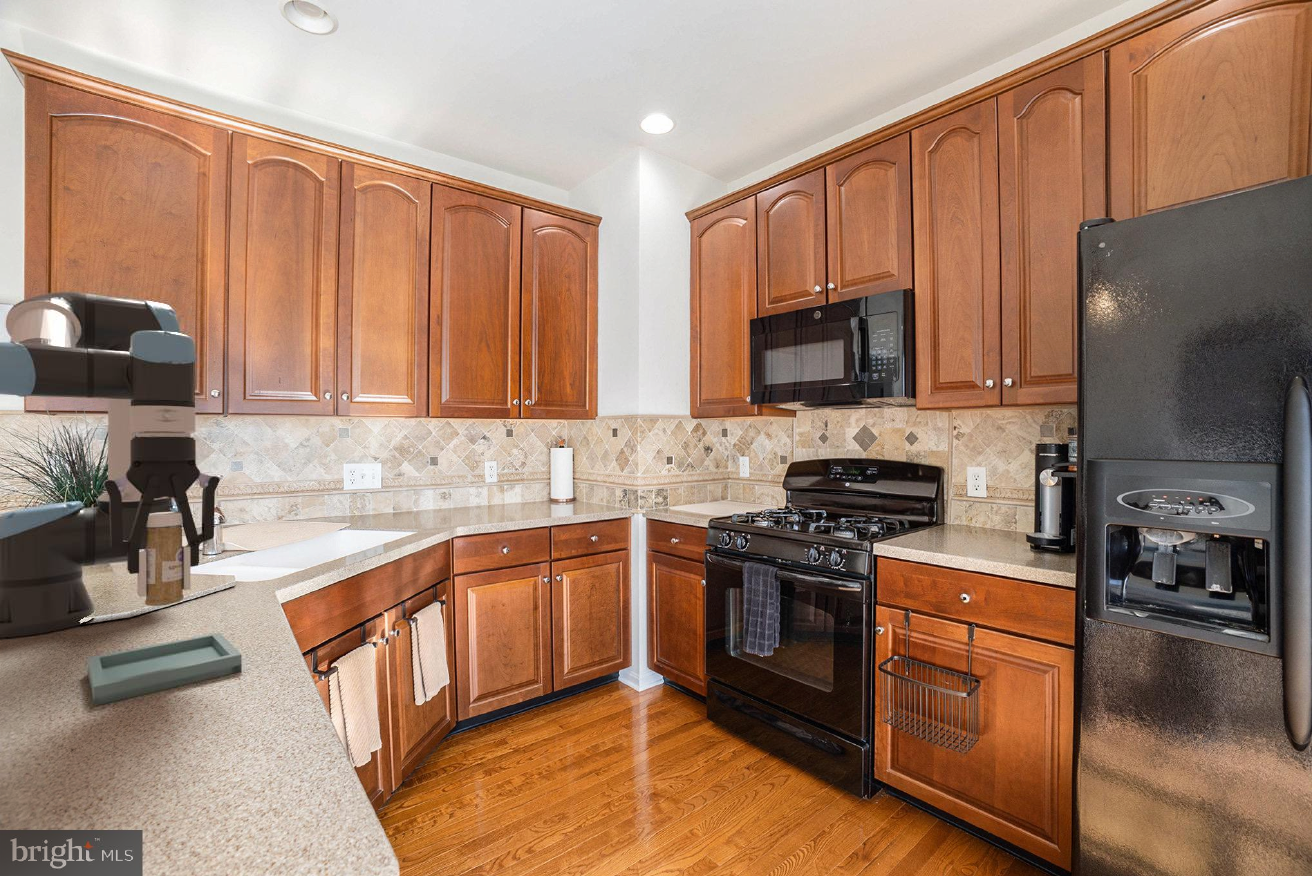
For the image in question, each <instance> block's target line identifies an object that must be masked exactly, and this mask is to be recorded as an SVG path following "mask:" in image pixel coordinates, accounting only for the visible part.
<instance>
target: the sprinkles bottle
mask: <svg viewBox="0 0 1312 876" xmlns="http://www.w3.org/2000/svg"><path fill="white" fill-rule="evenodd" d="M182 524H183V519H182V514H181V513H180V512H159V513H151V514H149V516H148V521H147V524H146V528H145V530H146V547H145V551H146V596H145V601H144V604H145V605H146V606H150V607H158V606H167V605H171V604H175V603H179V602H181V601H182V600H184V594H183V591H184V590H183V589H182V588H183V587H182V585H183V584H182V578H183V549H182V545H183V525H182Z"/></svg>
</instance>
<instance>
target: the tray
mask: <svg viewBox="0 0 1312 876" xmlns="http://www.w3.org/2000/svg"><path fill="white" fill-rule="evenodd" d="M242 656H243V655H242V653H241V652H240V651H239V650H238V649H237V648H236V647H235V646H234V645H233V644H232V643H231V642H229V640H228V639H227V638H226V637H225V636H224V634H223V635H222V633H221V632H214V633H209V634H203V635H199V636H194V637H189V638H183V639H177V640H173V641H169V642H164V643H163V642H162V643H158V644H154V645H148V646H142V647H137V648H132V649H127V650H122V651H118V652H110V653H107V654H102V655H97V656H96V655H95V656H92V657H87V678H88V683H89V688H90V694H91V700H92V703H93V704H92V705H93V707H98V706H102V705H106V704H111V703H113V702H119V701H123V700H126V699H130V698H135V697H139V696H142V695H149V694H152V693H156V692H160V691H165V690H169V689H172V688H174V689H175V688H177V687H182V686H185V685H189V684H194V683H199V682H202V681H207V680H210V679H211V680H212V679H216V678H219V677H223V676H227V675H232V674H237V673H240V672H242V670H243V669H242V667H243V666H242V663H243V662H242V659H243V657H242Z"/></svg>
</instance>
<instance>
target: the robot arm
mask: <svg viewBox="0 0 1312 876" xmlns="http://www.w3.org/2000/svg"><path fill="white" fill-rule="evenodd" d="M179 324H180V323H179V320H178V316H177V314H176V312H175V310H174V309H173V308H172V307H171V306H170V305H168V304H166V303H161V302H154V301H150V300H145V299H143V300H142V299H137V298H136V299H134V298H127V297H119V296H118V297H117V296H109V295H99V294H94V293H93V294H92V293H85V292H77V291H58V292H57V291H56V292H49V293H44V294H42V293H41V294H38V295H35V296H31V297H28V298H26V299H23V300H21V301H19V302H18V303H16V304H15V305H14V306H12V307H11V308H10V310H9V311H8V313H7V315H6V319H5V328H6V332H7V334H8V335H9V336H10V341H8V342H7V341H0V395H4V396H5V395H9V396H17V397H20V398H24V397H48V398H81V399H82V398H84V399H85V398H86V399H106V400H108V403H107V404H108V405H107V407H108V408H107V409H108V410H107V414H108V416H107V431H108V432H107V479H106V480H104V481H103V482H102V486H103V487H104V489H105V491H104V492H103V493H102V494H100V495H99V496H98V497H97V506H95V507H85V506H84V504H83V502H82V501H80V500H77V501H76V500H74V501H73V500H72V501H65V502H58V503H57V502H56V503H48V504H41V505H36V506H30V507H24V508H18V509H14V510H10V511H6V512H4V513H2V514H1V515H0V639H6V637H8V638H18V637H26V636H33V635H40V634H45V633H51V631H52V632H55V631H60V630H65V629H71V628H73V627H77V626H80V625H81V624H80V622H79V621H80V620H81V619H83V618H84V617H87V616H89V615H91V614H92V613H94V611H95V609H96V607H95V604H94V603H93V600H92V598H91V596H90V594H89V592H88V589H87V588H86V585H85V584H84V581H83V567H90V566H91V567H92V566H100V565H106V564H116V563H127V567H126V569H127V572H128V573H129V575H134V574H137V576H136V577H137V584H136V585H137V590H136V591H137V595H138V597H139V598H143V597H146V551H145V547H146V530H145V528H146V524H147V521H148V516H149V514H151V513H159V512H180V513H181V514H182V519H183V524H182V526H183V527H182V530H183V532H184V535H185V538H186V542H187V544H182V549H183V578H182V584H183V585H182V587H183V588H182V589H183V591H190V590H191V567H197V566H199V563H200V545H201V544H202V543H204V542H206V541H209V540H213V539H214V537H215V506H216V505H215V504H216V503H215V502H216V500H215V498H216V496H215V495H216V490H217V488H218V485H219V483H220V481H221V479H220V477H219V476H218V475H217V476H216V475H209V474H205V473H201V471H200V469H199V468H198V465H197V462H196V460H197V459H196V458H197V455H196V454H197V451H196V446H197V445H196V441H197V440H196V439H195V437H192V436H191V435H192V434H195V433H196V403H195V402H196V401H195V400H196V361H197V355H196V348H195V347H196V346H195V341H194V339H193V337H191V336H189V335H186V334H183V333H181V329H180V325H179ZM196 481H198V482H199V487H201V488H202V492H201V493H202V495H201V499H202V501H201V532H200V533H198V531H197V528H196V524H195V521H194V517H193V513H192V510H191V506H190V503H189V498H188V494H187V491H188V490H190V489H191V487H192V486H193V484H194V483H195V482H196ZM172 498H173V499H174V500H173V499H172ZM172 500H173V501H172Z"/></svg>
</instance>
